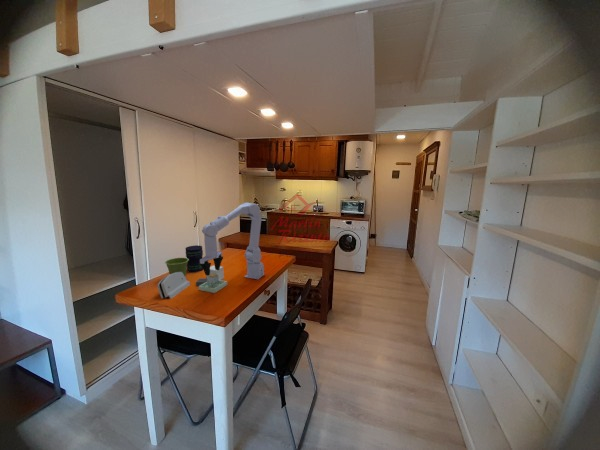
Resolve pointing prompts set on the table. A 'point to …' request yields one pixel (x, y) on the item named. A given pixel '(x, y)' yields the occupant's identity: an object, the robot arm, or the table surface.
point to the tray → (205, 288)
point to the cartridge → (213, 280)
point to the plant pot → (177, 265)
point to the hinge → (172, 285)
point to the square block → (201, 281)
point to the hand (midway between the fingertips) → (212, 272)
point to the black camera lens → (194, 258)
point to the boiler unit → (217, 272)
